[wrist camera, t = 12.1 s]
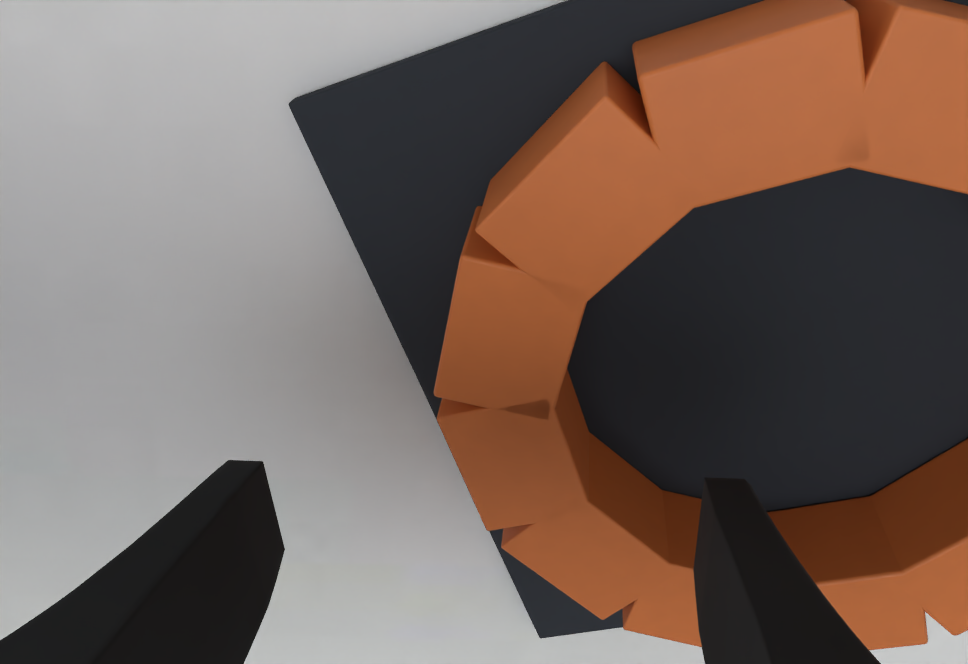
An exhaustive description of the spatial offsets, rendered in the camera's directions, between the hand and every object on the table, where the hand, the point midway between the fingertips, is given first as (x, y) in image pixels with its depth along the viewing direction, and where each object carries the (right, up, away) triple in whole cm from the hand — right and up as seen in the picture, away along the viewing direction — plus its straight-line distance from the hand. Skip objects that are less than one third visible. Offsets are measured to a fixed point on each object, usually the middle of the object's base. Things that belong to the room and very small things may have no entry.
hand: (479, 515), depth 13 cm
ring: (+6, +3, +4) cm, 8 cm away
